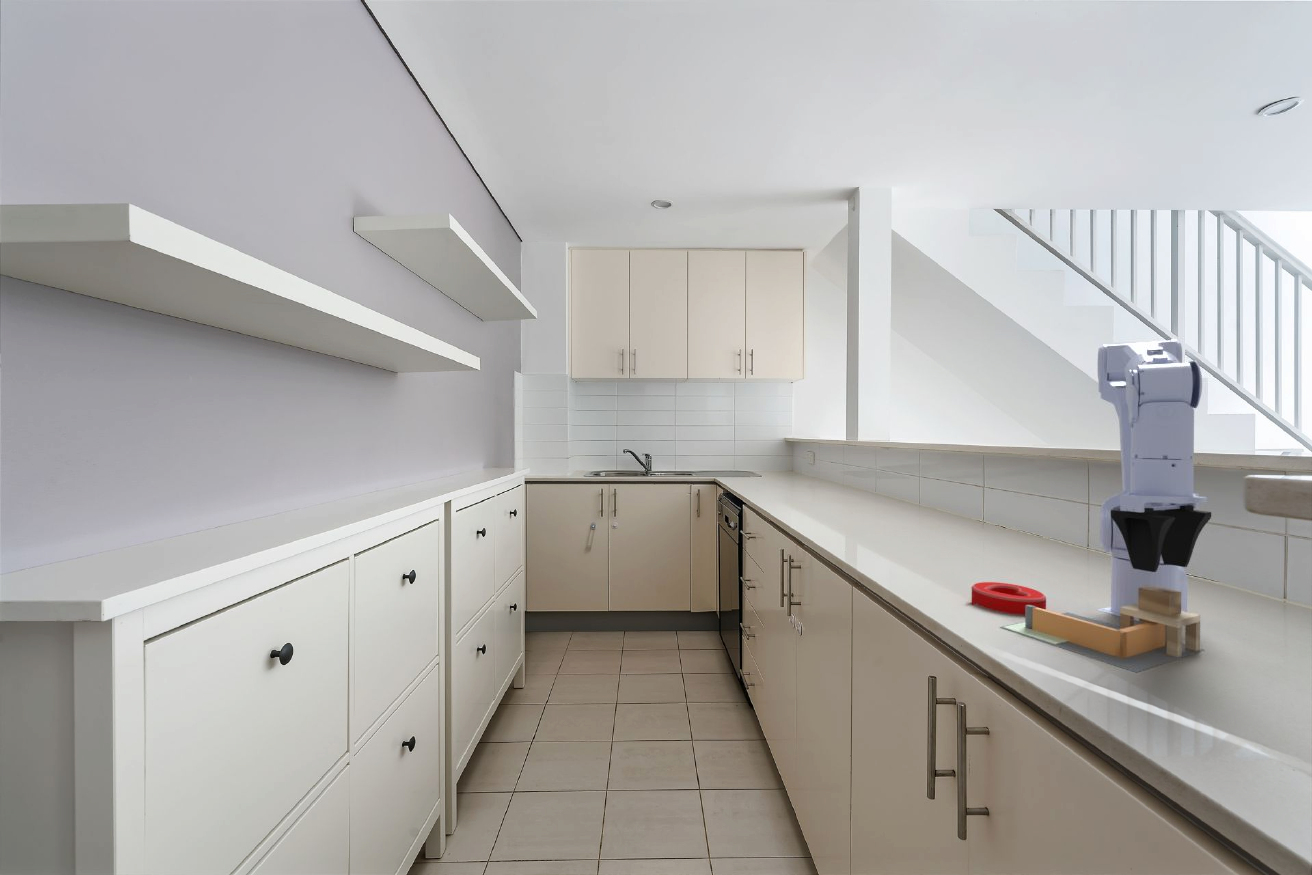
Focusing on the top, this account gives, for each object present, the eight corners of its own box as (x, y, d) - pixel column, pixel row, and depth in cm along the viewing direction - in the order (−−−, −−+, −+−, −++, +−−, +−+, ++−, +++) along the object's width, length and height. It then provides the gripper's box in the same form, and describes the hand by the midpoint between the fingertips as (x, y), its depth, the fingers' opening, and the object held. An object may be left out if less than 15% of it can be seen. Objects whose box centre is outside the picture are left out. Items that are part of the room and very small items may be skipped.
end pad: (1031, 621, 74) (1031, 620, 74) (1084, 637, 68) (1084, 636, 68) (1003, 627, 72) (1003, 626, 72) (1055, 644, 66) (1055, 643, 66)
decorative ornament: (957, 602, 86) (957, 582, 86) (1007, 599, 88) (1008, 580, 88) (1007, 622, 76) (1007, 600, 76) (1062, 618, 78) (1062, 597, 78)
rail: (1070, 616, 76) (1071, 596, 76) (1171, 644, 66) (1171, 621, 66) (1023, 627, 72) (1023, 605, 72) (1124, 659, 61) (1124, 633, 61)
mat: (1067, 616, 78) (1067, 612, 78) (1204, 654, 65) (1204, 649, 65) (999, 631, 72) (999, 627, 72) (1136, 677, 58) (1136, 672, 58)
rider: (1142, 634, 70) (1143, 581, 70) (1199, 649, 65) (1200, 593, 65) (1119, 640, 67) (1120, 585, 67) (1177, 657, 62) (1178, 598, 62)
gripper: (1174, 460, 59) (1173, 580, 59) (1232, 460, 65) (1231, 570, 65) (1100, 457, 66) (1099, 566, 66) (1159, 458, 72) (1158, 558, 72)
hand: (1160, 567), depth 66 cm, fingers open, 7 cm apart
